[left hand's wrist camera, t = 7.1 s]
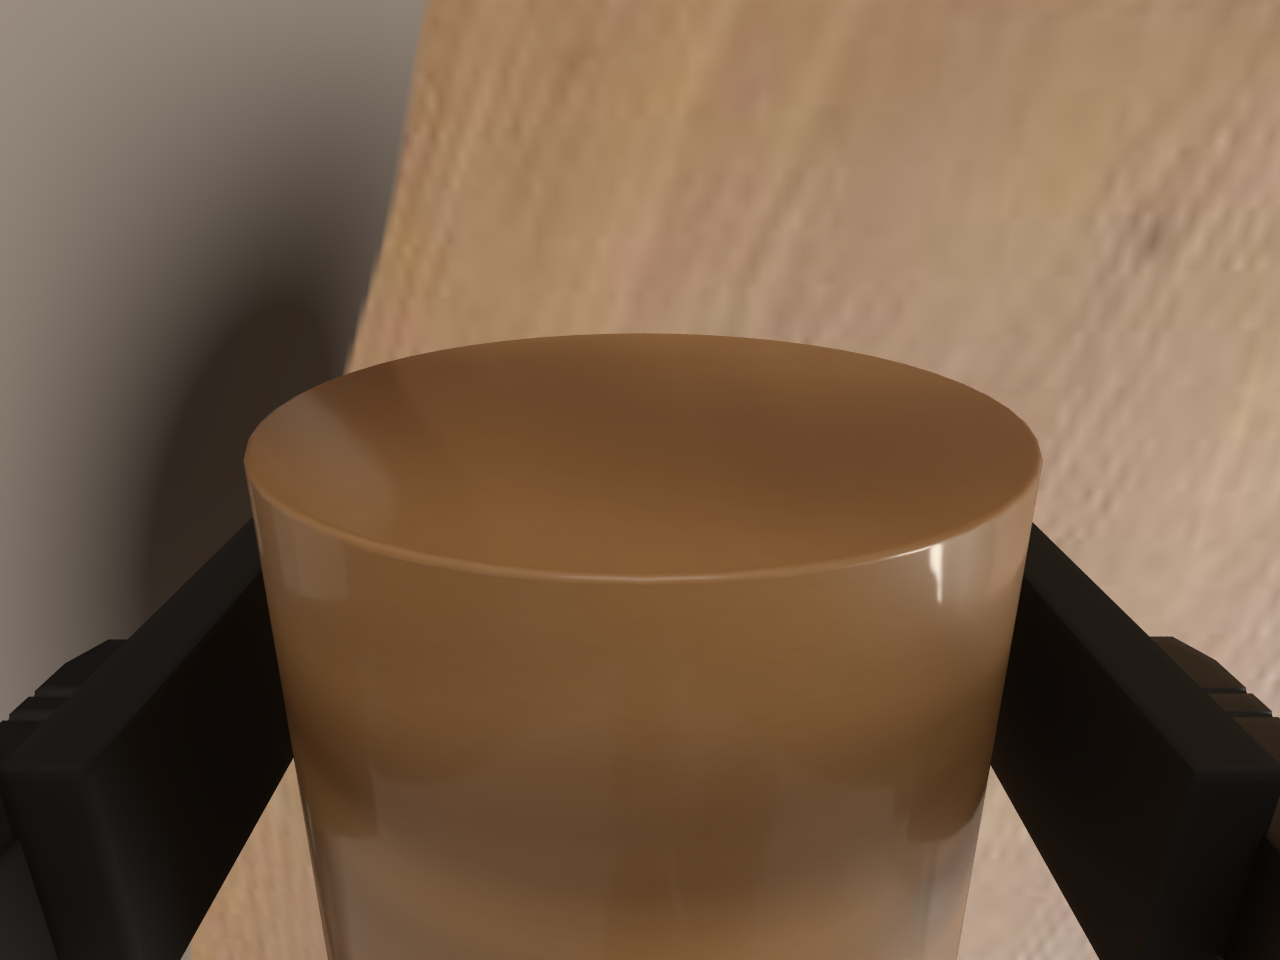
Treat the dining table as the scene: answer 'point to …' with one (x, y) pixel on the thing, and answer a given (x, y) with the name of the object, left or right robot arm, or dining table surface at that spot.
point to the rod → (642, 646)
